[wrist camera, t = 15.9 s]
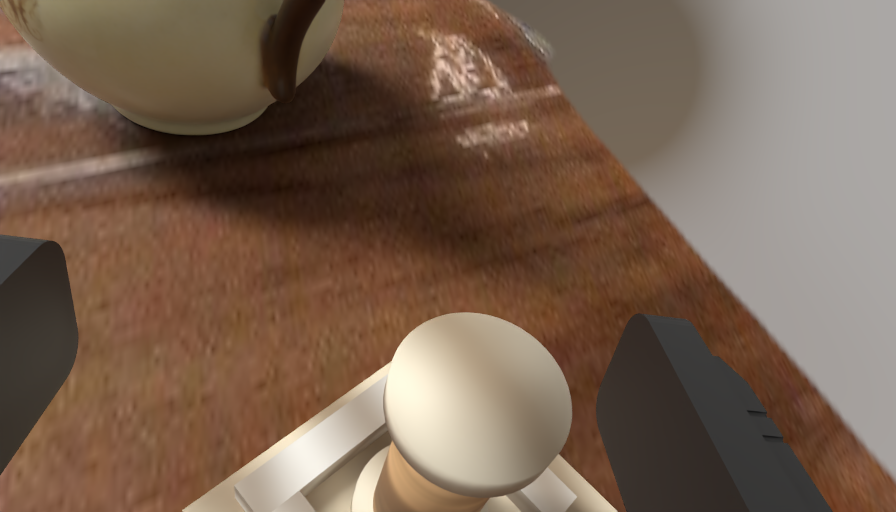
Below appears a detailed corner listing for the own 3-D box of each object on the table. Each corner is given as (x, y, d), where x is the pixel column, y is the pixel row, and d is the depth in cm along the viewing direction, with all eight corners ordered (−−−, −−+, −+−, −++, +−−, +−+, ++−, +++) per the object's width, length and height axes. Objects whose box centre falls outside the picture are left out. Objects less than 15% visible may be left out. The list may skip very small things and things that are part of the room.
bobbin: (415, 620, 26) (490, 529, 17) (322, 506, 28) (347, 375, 20) (507, 518, 30) (606, 401, 21) (418, 425, 32) (475, 285, 23)
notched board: (383, 809, 23) (396, 808, 21) (185, 521, 28) (179, 497, 26) (605, 521, 32) (630, 501, 30) (428, 345, 37) (438, 317, 35)
